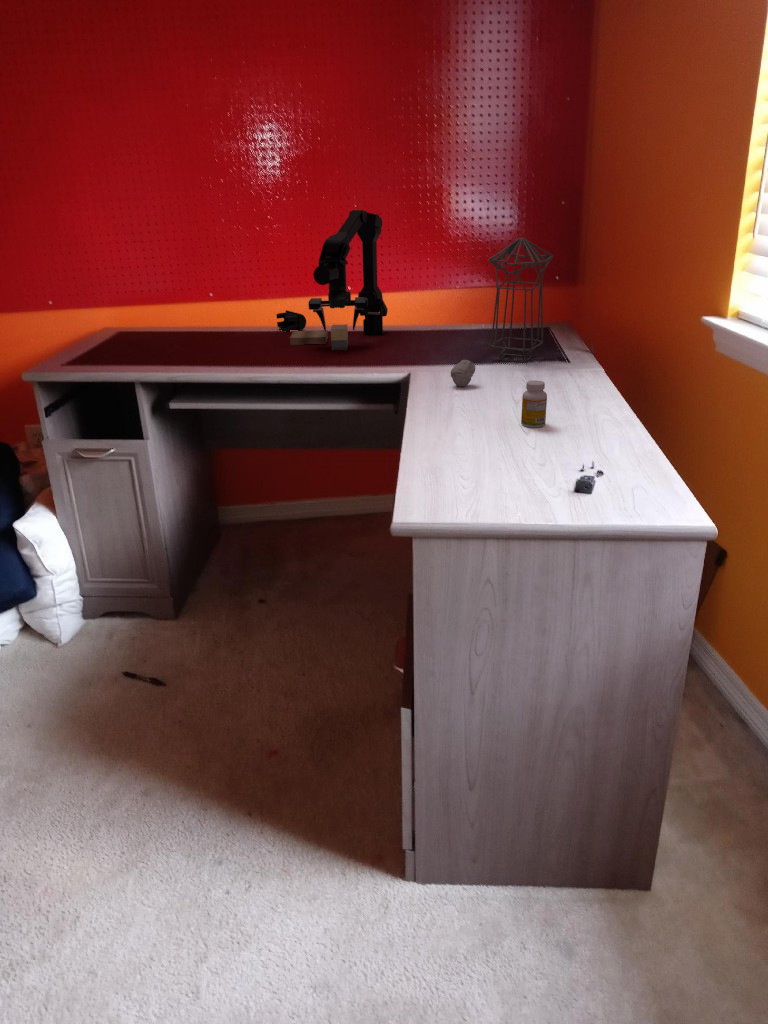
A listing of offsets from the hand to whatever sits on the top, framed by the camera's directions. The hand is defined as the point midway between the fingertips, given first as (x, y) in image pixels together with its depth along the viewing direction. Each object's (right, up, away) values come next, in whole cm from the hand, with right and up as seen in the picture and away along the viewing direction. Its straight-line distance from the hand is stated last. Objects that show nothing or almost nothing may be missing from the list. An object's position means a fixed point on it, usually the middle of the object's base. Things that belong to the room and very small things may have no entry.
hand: (339, 330), depth 255 cm
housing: (0, -5, +2) cm, 6 cm away
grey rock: (+35, -26, -45) cm, 63 cm away
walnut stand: (-11, -1, +13) cm, 17 cm away
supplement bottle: (+48, -39, -78) cm, 99 cm away
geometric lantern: (+54, -13, -18) cm, 59 cm away
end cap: (-19, +7, +32) cm, 38 cm away
